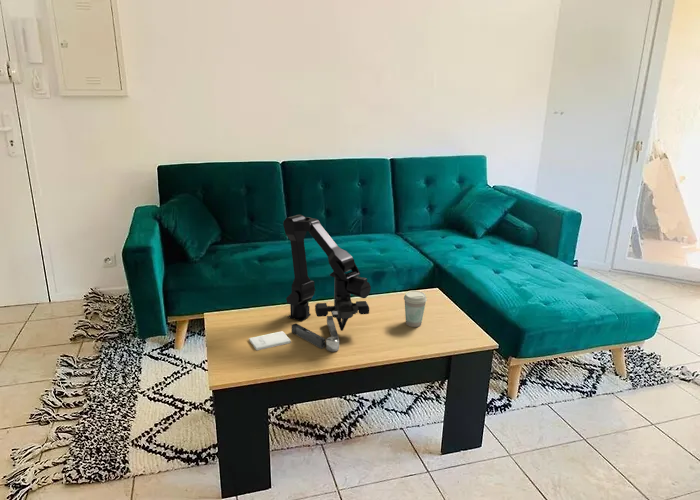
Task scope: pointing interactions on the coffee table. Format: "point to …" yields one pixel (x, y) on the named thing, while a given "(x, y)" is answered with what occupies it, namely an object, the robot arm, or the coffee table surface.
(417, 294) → the coffee cup
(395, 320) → the coffee table surface
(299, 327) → the tongs fixed arm
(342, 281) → the robot arm
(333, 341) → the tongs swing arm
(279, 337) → the external hard drive
